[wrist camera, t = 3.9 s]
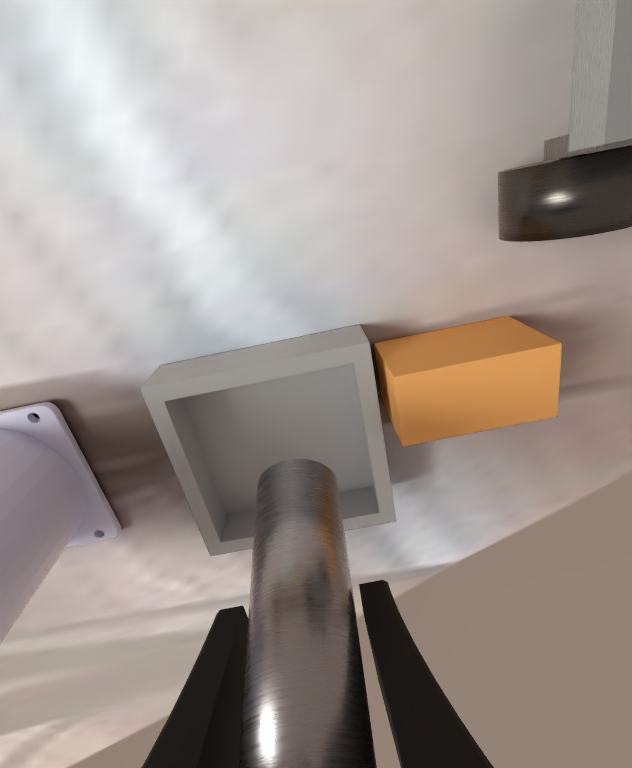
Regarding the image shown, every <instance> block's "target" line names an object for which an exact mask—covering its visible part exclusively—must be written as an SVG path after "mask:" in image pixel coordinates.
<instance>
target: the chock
mask: <svg viewBox="0 0 632 768" xmlns="http://www.w3.org/2000/svg"><path fill="white" fill-rule="evenodd" d="M374 348H375V354H376V361H377V368H378V375H379V382H380V389H381V396H382V402H383V404H384V407H385V409H386V411H387V413H388V415H389V418H390V420H391V422H392V424H393V427H394V429H395V431H396V433H397V435H398V438H399V440H400V442H401V444H402V446H403V447H404V446H409V445H414V444H419V443H424V442H429V441H435V440H440V439H445V438H450V437H455V436H460V435H465V434H471V433H476V432H481V431H486V430H491V429H496V428H501V427H506V426H512V425H517V424H522V423H527V422H532V421H537V420H542V419H548V418H553V417H558V400H559V384H560V367H561V350H562V343H560V342H558V341H557V340H555V339H553V338H551V337H549V336H547V335H545V334H543V333H541V332H539V331H537V330H535V329H533V328H531V327H529V326H527V325H525V324H523V323H521V322H519V321H517V320H515V319H513V318H511V317H509V316H504V317H500V318H495V319H490V320H485V321H480V322H475V323H470V324H465V325H460V326H456V327H451V328H446V329H441V330H436V331H431V332H426V333H421V334H416V335H411V336H407V337H402V338H397V339H392V340H387V341H382V342H377V343H374Z"/></svg>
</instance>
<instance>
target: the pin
mask: <svg viewBox="0 0 632 768" xmlns="http://www.w3.org/2000/svg"><path fill="white" fill-rule="evenodd" d="M239 768H377V766H376V759H375V752H374V745H373V738H372V730H371V723H370V715H369V708H368V701H367V693H366V687H365V679H364V672H363V664H362V657H361V650H360V643H359V636H358V628H357V621H356V613H355V606H354V599H353V591H352V584H351V577H350V570H349V562H348V555H347V548H346V540H345V533H344V526H343V518H342V511H341V504H340V497H339V489H338V482H337V478H336V475H335V474H334V472H333V471H332V470H331V469H330V468H329V467H327V466H326V465H324V464H322V463H320V462H317V461H314V460H309V459H291V460H285V461H282V462H279V463H276V464H274V465H272V466H271V467H269V468H268V469H266V470H265V471H264V472H263V473H262V474H261V476H260V478H259V480H258V483H257V497H256V512H255V527H254V543H253V558H252V573H251V589H250V604H249V620H248V635H247V650H246V666H245V681H244V696H243V712H242V727H241V743H240V758H239Z"/></svg>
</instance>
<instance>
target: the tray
mask: <svg viewBox="0 0 632 768" xmlns="http://www.w3.org/2000/svg"><path fill="white" fill-rule="evenodd" d="M140 390H141V393H142V395H143V397H144V400H145V402H146V405H147V407H148V409H149V412H150V414H151V416H152V419H153V421H154V423H155V426H156V428H157V431H158V433H159V435H160V438H161V440H162V442H163V445H164V447H165V450H166V452H167V454H168V457H169V459H170V461H171V464H172V466H173V468H174V471H175V473H176V476H177V478H178V480H179V483H180V485H181V487H182V490H183V492H184V494H185V497H186V499H187V502H188V504H189V506H190V509H191V511H192V513H193V516H194V518H195V521H196V523H197V525H198V528H199V530H200V532H201V535H202V537H203V539H204V542H205V544H206V547H207V549H208V551H209V554H210V556H214V555H220V554H225V553H230V552H236V551H241V550H246V549H251V548H253V543H254V527H255V512H256V497H257V483H258V480H259V478H260V476H261V474H262V473H263V472H264V471H265V470H266V469H268V468H269V467H271V466H272V465H274V464H276V463H279V462H282V461H285V460H291V459H309V460H314V461H317V462H320V463H322V464H324V465H326V466H327V467H329V468H330V469H331V470H332V471H333V472H334V474H335V475H336V478H337V482H338V489H339V497H340V504H341V511H342V518H343V526H344V531H347V530H352V529H358V528H363V527H368V526H374V525H379V524H384V523H390V522H395V521H396V516H395V509H394V502H393V496H392V489H391V482H390V476H389V469H388V462H387V456H386V449H385V442H384V436H383V429H382V422H381V416H380V409H379V402H378V396H377V389H376V382H375V376H374V369H373V362H372V356H371V349H370V342H369V340H368V339H367V337H366V335H365V333H364V331H363V330H362V328H361V326H360V324H359V325H354V326H350V327H345V328H340V329H335V330H330V331H325V332H320V333H316V334H311V335H306V336H301V337H296V338H291V339H287V340H282V341H277V342H272V343H267V344H262V345H258V346H253V347H248V348H243V349H238V350H233V351H228V352H224V353H219V354H214V355H209V356H204V357H199V358H195V359H190V360H185V361H180V362H175V363H170V364H165V365H161V366H159V367H158V369H157V370H156V371H155V372H154V373H153V374H152V376H151V377H150V378H149V379H148V380H147V382H146V383H145V384H144V385H143V386H142V387H141V389H140Z"/></svg>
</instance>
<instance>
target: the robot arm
mask: <svg viewBox="0 0 632 768" xmlns="http://www.w3.org/2000/svg"><path fill="white" fill-rule="evenodd" d="M33 413H36V414H37V415H38V416H39V417H40V419H38V418H36V417H35V416H34V415H33ZM99 530H100V531H103V532H100V531H99ZM120 531H121V526H120V524H119V522H118V520H117V518H116V516H115V514H114V512H113V510H112V509H111V507H110V505H109V503H108V501H107V499H106V497H105V495H104V493H103V492H102V490H101V488H100V486H99V484H98V482H97V480H96V478H95V476H94V474H93V473H92V471H91V469H90V467H89V465H88V463H87V461H86V459H85V457H84V456H83V454H82V452H81V450H80V448H79V446H78V444H77V442H76V440H75V438H74V437H73V435H72V433H71V431H70V429H69V427H68V425H67V423H66V421H65V420H64V418H63V416H62V414H61V412H60V410H59V409H58V407H57V406H55V405H54V404H52V403H49V402H43V403H38V404H33V405H28V406H23V407H18V408H14V409H9V410H4V411H0V644H1V642H2V641H3V639H4V638H5V636H6V635H7V633H8V632H9V630H10V629H11V627H12V626H13V624H14V623H15V621H16V620H17V618H18V617H19V615H20V614H21V613H22V611H23V610H24V608H25V607H26V605H27V604H28V602H29V601H30V599H31V598H32V596H33V595H34V593H35V592H36V590H37V589H38V587H39V586H40V584H41V583H42V581H43V580H44V578H45V577H46V575H47V574H48V572H49V571H50V569H51V568H52V567H53V565H54V564H55V562H56V561H57V559H58V558H59V556H60V555H61V553H62V552H63V550H64V549H65V548H67V547H72V546H77V545H82V544H88V543H93V542H98V541H103V540H108V539H113V538H116V537H117V536H118V535H119V533H120ZM359 586H360V593H361V599H362V606H363V612H364V617H365V622H366V625H367V631H368V635H369V639H370V644H371V649H372V653H373V658H374V662H375V666H376V671H377V675H378V680H379V684H380V688H381V692H382V696H383V700H384V703H385V707H386V711H387V715H388V719H389V723H390V727H391V731H392V734H393V738H394V742H395V746H396V750H397V754H398V758H399V761H400V765H401V768H494V767H493V766H492V765H491V763H490V762H489V760H488V759H487V757H486V756H485V755H484V753H483V752H482V750H481V749H480V748H479V746H478V745H477V743H476V742H475V740H474V739H473V737H472V736H471V734H470V733H469V731H468V730H467V728H466V727H465V725H464V724H463V722H462V721H461V719H460V718H459V716H458V715H457V713H456V712H455V710H454V708H453V707H452V705H451V704H450V702H449V701H448V699H447V698H446V696H445V694H444V693H443V691H442V689H441V688H440V686H439V684H438V683H437V682H436V680H435V678H434V676H433V675H432V673H431V671H430V670H429V668H428V666H427V664H426V662H425V661H424V659H423V657H422V655H421V654H420V652H419V650H418V648H417V647H416V645H415V643H414V641H413V639H412V637H411V635H410V633H409V631H408V629H407V627H406V625H405V623H404V621H403V619H402V617H401V615H400V613H399V611H398V609H397V606H396V604H395V601H394V599H393V596H392V594H391V591H390V588H389V585H388V582H386V581H384V580H380V581H375V582H369V583H364V584H359ZM248 620H249V619H248V617H247V614H246V612H245V609H244V607H243V606H239V607H233V608H228V609H222V610H220V611H219V612H218V613H217V615H216V617H215V620H214V622H213V624H212V627H211V629H210V631H209V633H208V636H207V638H206V640H205V643H204V645H203V647H202V649H201V651H200V654H199V656H198V658H197V660H196V662H195V664H194V667H193V669H192V671H191V673H190V675H189V677H188V679H187V681H186V683H185V685H184V687H183V690H182V692H181V694H180V696H179V698H178V700H177V702H176V704H175V706H174V708H173V710H172V712H171V714H170V716H169V718H168V720H167V722H166V724H165V725H164V727H163V729H162V731H161V733H160V735H159V737H158V739H157V740H156V742H155V744H154V746H153V748H152V750H151V752H150V753H149V755H148V757H147V759H146V761H145V763H144V765H143V766H142V768H239V758H240V743H241V727H242V712H243V696H244V681H245V666H246V650H247V635H248Z"/></svg>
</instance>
